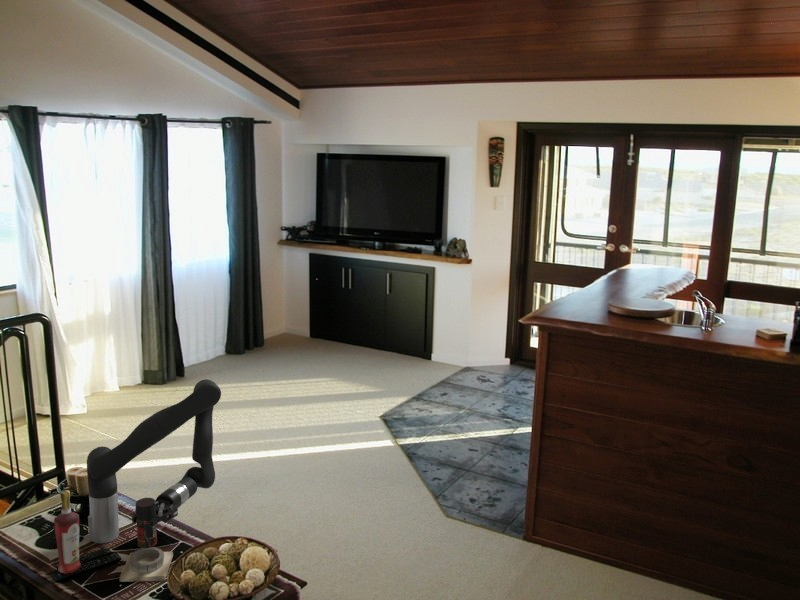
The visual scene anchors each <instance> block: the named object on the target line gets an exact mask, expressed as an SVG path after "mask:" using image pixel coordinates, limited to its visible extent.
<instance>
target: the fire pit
mask: <svg viewBox="0 0 800 600" xmlns="http://www.w3.org/2000/svg"><path fill="white" fill-rule="evenodd" d="M173 557H174V551H163V550H162V549H161V548H158V547H157V546H153V547H150V548H140V549H139V548H138V549H136V550H135V551H134V552H129V556H128V558H127V560H126V561H125V565H124V567H123V569H122V571H121V573H120V575H119V582H121V583H122V582H123V583H125V582H152V581H153V582H162V581H165V580H166V578H167V575H168V572H169V569H170V566H171V562H172V560H173Z"/></svg>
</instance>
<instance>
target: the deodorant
mask: <svg viewBox="0 0 800 600" xmlns="http://www.w3.org/2000/svg"><path fill="white" fill-rule="evenodd" d="M155 500H156V499H154V498H153V497H144V498H140V499H138V500H137V501H136V502H135V508H136V511H135V514H136V518H137V522H136V533H137V534H136V536H137V546H138V548H140V549H142V548H150V547H156V545H157V542H158V536H157V534H158V533H157V524H156V525H155V526H152V527H149V521H150V520H151V519H152V518H154V517H155V516H156V510H155Z"/></svg>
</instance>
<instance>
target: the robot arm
mask: <svg viewBox="0 0 800 600" xmlns="http://www.w3.org/2000/svg"><path fill="white" fill-rule="evenodd" d="M221 397H222V391H221V387H219V386H218V384H217V383H216V382H214V380H212V379H206V378H205V379H202V380H199V381H198V382H197V383H196V384H195V385H194V388H193V391H192V392H191V393H190V395H188V396H186V397H184V399H182V400H180V401H179V402H177V403H175V404H173V405H170V406H166V407H165V408H162V409H161V410H159V411H157V412H155V413H153V414H152V415H150V416H149V417H147V418H146V419H144V420H143V421H142V422H140V423H139V424H138V425H137V426H136V427H135V428H134V429H133V430H132V431H131V432H130V434H129V435H128V436H127V437H126V438H125V439H124V440H123V441H122V442H120V443H119V444H117V446H115V447H113V448H110V447H106V446H98V447H97V446H96V447H95V448H93V449H92V450H91V451H90V452H89V453H88V455H87V458H86V473H87V485H88V486H87V487H88V499H89V503H88V504H89V515H88V516H87V520H88V523H87V524H88V541H89V542H93V543H95V544H107V543H110V542H111V543H112V542H113V541H115V540H116V539H118V537H119V536H120V526H119V525H120V524H119V523H120V522H119V521H120V519H119V500H118V499H119V497H118V495H119V494H118V482H117V475H116V474H117V472H119V471H120V470H121V469H122V468H123V467H125V466H126V465H128V463H130V462H131V461H132V460H134V459H135V458H137V456H139V455H141V454H143V453H144V452H146V451H147V450H148V449H149V448H151V447H152V446H154V445H156V444H158V443H159V442H160V441H162V440H163V439H165V438H166V437H168V436H170V435H171V434H172V433H173V432H175V431H176V430H177V429H179V428H180V427H182V426H183V425H184V424H186V423H187V422H188V421H189V420H191V419H193V418H194V431H193V442H192V452H191V453H192V454H191V458H192V460H193V462H195V463H197V464H199V465H200V466H192V467H190V468H188V469H187V470H186V472H185V473H184V475H183V477H182V478H181V479H180V480H179V481H178V482H176V483H175V484H173V485H171V486H170V487H168V488H167V489H166V490H164V491H162V492H161V493H160V494H158V495H157V497H156V499H154V500H155V510H156V516H155V517H154V518H152V519H151V520H150V521H149V527H152V526H155V525H156V526H157V525H158V524H159V523H162V522H163V523H168V522H169V521H171V520H172V519H175V518H176V517H177V516H179V512H178V511H179V508H181V507H182V505H183V504H186V502H187V501H188V500H189V499H190V498H191V497H193V496H194V495H196V492H197V491H198V488H201V489H210V488H211V487H212V486H213V485H214V483H215V481H216V472H215V465H214V461H213V444H214V433H213V432H214V431H213V415H214V413H213V412H214V406H215V405H217V404H218V403H219V401H220V400H221ZM134 508H135V509H134V510H135V512H136V507H134ZM131 522H132V524H137V518H136V513H135V514H133V515H132V516H131Z"/></svg>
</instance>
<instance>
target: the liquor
mask: <svg viewBox="0 0 800 600" xmlns="http://www.w3.org/2000/svg"><path fill="white" fill-rule="evenodd" d="M70 491H71V490H66V489H65V490H63V491H61V492H60V500H61V513H60V514H58V515H57V516H55V517H54V520H53V523H54V533H55V538H56V540H55V541H56V547H57V556H58V567H57V571H58V572H59V573H62V574H63V573H65V574H64V575H69V574H68V573H72V574H74V573H76V572H77V571H78V570H79V569H80V568H81V566H82V563H81V562H80V515H79V514H78V513H76V512H74V511H72V508H71V502H70V498H71V492H70ZM76 570H77V571H76ZM73 572H74V573H73ZM66 573H67V574H66Z"/></svg>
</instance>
